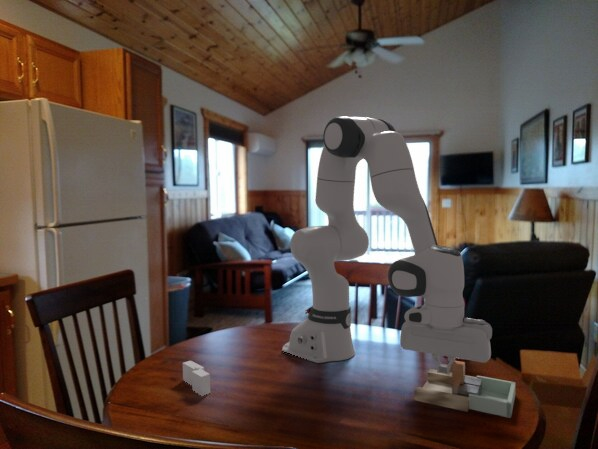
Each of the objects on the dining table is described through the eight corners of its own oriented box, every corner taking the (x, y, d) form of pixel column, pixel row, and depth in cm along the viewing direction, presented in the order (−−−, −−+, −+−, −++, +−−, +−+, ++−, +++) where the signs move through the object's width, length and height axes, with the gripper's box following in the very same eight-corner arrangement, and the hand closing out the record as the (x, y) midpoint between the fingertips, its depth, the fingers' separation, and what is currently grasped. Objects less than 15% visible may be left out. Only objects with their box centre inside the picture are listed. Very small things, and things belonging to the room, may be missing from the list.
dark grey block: (461, 394, 101) (461, 382, 101) (464, 387, 105) (464, 375, 105) (479, 398, 99) (479, 385, 99) (482, 391, 103) (482, 379, 103)
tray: (468, 413, 95) (468, 395, 95) (477, 391, 105) (477, 375, 105) (510, 422, 91) (511, 403, 90) (515, 399, 101) (515, 382, 101)
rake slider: (449, 399, 98) (449, 368, 98) (456, 384, 106) (456, 356, 106) (460, 401, 97) (460, 370, 97) (467, 386, 105) (467, 357, 104)
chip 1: (457, 402, 98) (457, 389, 97) (460, 395, 101) (461, 382, 101) (476, 406, 96) (476, 393, 95) (479, 399, 99) (479, 386, 99)
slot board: (414, 404, 99) (414, 391, 99) (430, 379, 112) (430, 368, 112) (467, 416, 94) (467, 402, 93) (478, 389, 106) (478, 377, 106)
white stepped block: (178, 378, 117) (177, 357, 116) (220, 376, 117) (220, 356, 117) (165, 405, 102) (164, 381, 101) (214, 402, 103) (214, 379, 102)
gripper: (494, 317, 99) (493, 376, 100) (405, 307, 110) (405, 361, 111) (490, 324, 94) (489, 387, 95) (397, 313, 104) (398, 369, 105)
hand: (443, 373), depth 103 cm, fingers closed
